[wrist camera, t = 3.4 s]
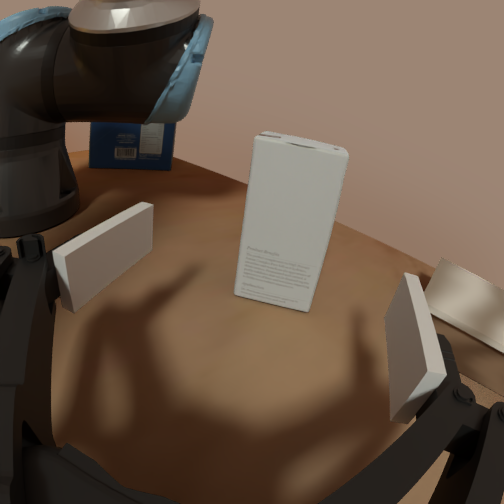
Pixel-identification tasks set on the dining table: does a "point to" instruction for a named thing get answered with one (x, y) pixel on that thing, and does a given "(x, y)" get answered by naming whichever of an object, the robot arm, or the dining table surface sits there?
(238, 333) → the dining table surface
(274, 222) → the skincare box
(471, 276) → the podium
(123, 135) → the protein box
